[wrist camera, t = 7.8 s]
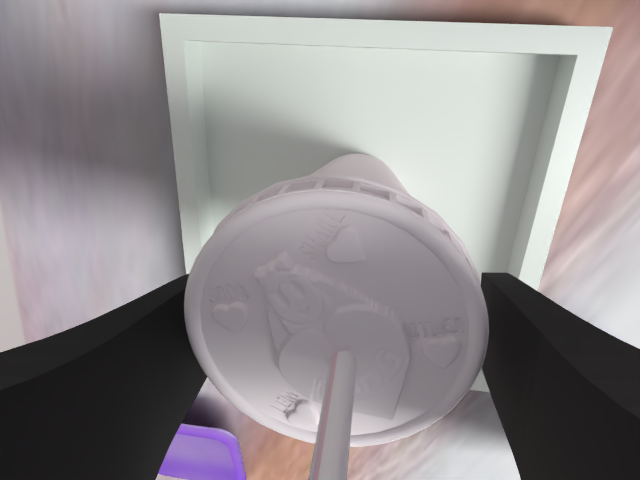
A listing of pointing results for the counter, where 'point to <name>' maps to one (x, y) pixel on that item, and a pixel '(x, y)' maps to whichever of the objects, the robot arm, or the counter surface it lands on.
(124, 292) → the counter surface
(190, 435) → the spatula
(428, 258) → the smoothie
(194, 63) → the tray
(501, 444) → the counter surface
